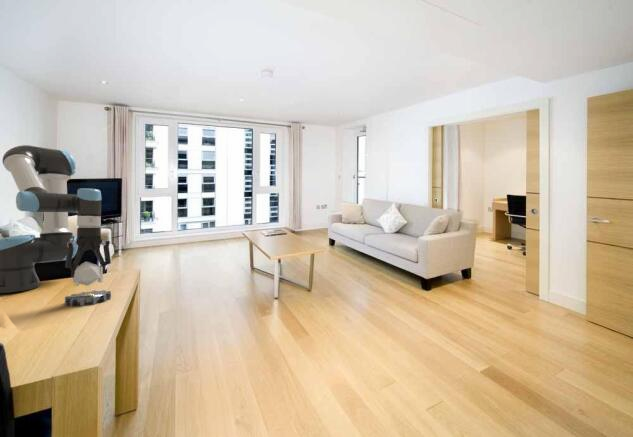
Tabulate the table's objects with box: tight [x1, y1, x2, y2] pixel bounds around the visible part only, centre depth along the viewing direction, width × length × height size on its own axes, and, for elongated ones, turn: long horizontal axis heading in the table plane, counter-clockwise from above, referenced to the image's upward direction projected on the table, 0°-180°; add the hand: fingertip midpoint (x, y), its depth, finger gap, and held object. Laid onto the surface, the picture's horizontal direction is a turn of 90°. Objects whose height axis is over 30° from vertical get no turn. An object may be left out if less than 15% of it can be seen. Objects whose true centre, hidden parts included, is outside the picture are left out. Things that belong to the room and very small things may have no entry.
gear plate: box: [64, 289, 112, 307], centre depth 114 cm, size 15×15×2 cm
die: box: [72, 261, 101, 287], centre depth 114 cm, size 8×9×10 cm
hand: (88, 283), depth 114 cm, fingers open, 7 cm apart
